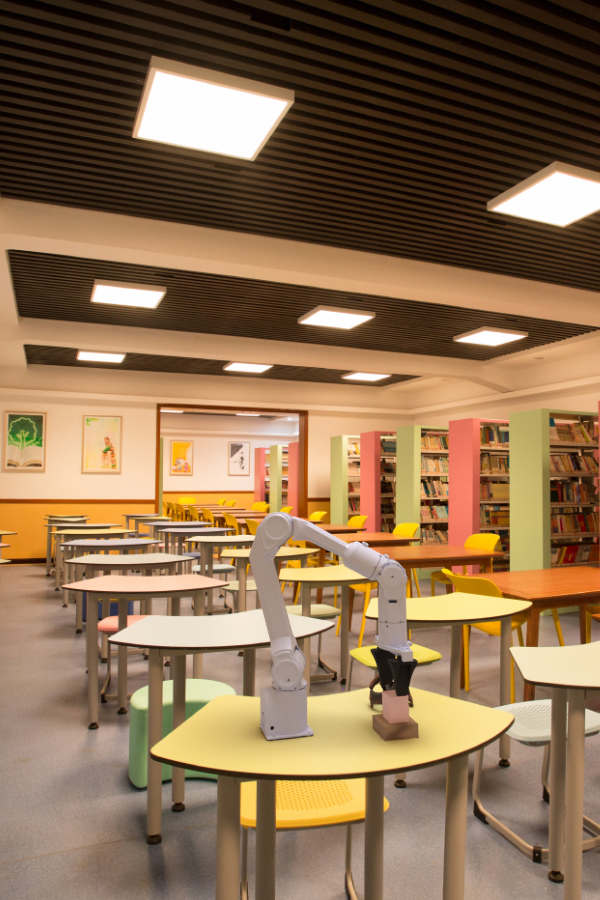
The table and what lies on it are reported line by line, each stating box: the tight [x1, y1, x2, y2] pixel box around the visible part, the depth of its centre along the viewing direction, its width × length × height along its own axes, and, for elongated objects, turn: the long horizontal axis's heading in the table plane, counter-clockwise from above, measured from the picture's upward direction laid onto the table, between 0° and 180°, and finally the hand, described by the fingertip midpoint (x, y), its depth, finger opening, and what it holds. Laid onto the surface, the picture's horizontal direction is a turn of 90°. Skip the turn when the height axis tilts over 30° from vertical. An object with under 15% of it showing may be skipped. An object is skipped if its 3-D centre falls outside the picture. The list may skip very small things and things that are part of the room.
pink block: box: [381, 690, 410, 724], centre depth 118 cm, size 4×4×5 cm
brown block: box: [371, 713, 420, 742], centre depth 118 cm, size 7×7×3 cm
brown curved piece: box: [368, 674, 414, 708], centre depth 135 cm, size 12×10×8 cm
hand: (393, 689), depth 118 cm, fingers open, 7 cm apart
